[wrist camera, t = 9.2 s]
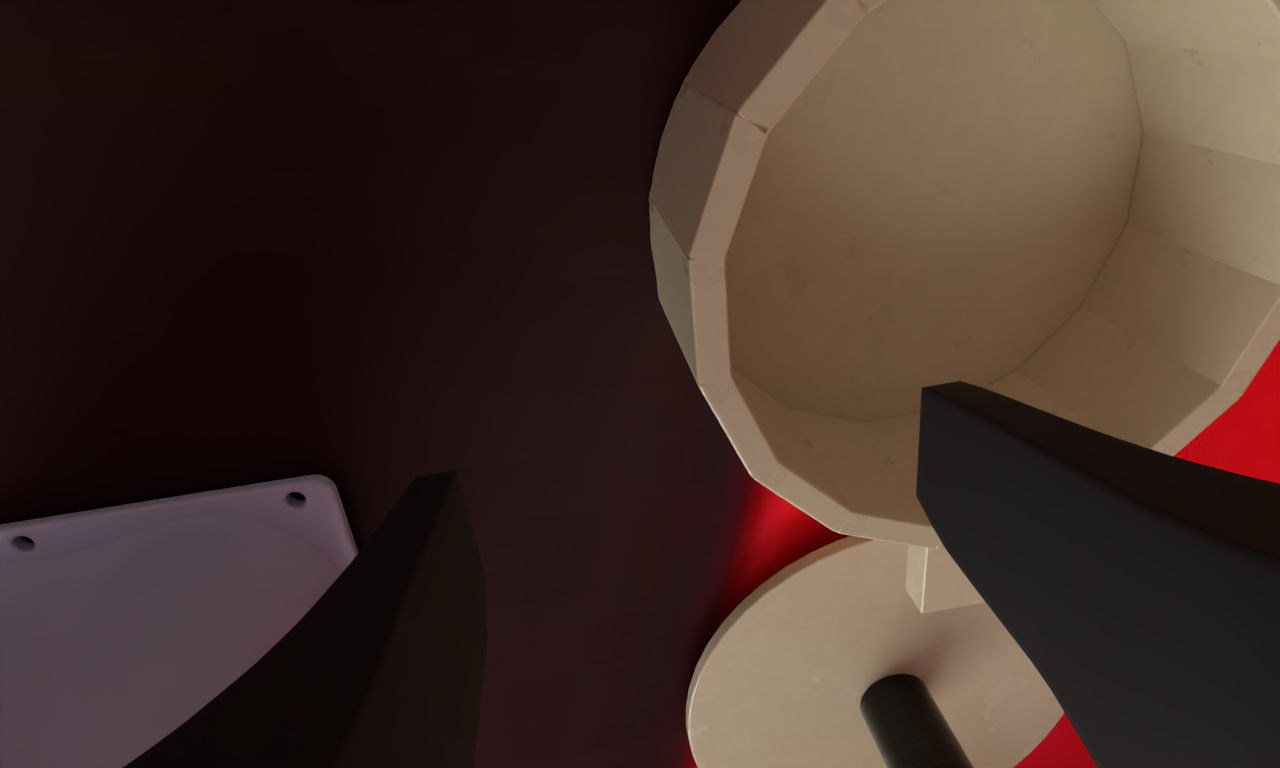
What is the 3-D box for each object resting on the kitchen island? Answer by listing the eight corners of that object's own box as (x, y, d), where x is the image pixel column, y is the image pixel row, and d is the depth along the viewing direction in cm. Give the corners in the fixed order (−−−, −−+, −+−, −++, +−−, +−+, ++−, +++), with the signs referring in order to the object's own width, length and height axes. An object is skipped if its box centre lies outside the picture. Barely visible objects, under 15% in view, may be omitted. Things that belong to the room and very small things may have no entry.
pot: (679, 536, 24) (720, 674, 20) (605, -214, 16) (645, -301, 11) (1089, 466, 25) (1224, 580, 21) (1230, -274, 17) (1521, -379, 12)
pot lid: (696, 837, 31) (730, 998, 26) (664, 549, 25) (702, 692, 20) (1043, 767, 32) (1138, 909, 27) (1102, 474, 26) (1242, 591, 21)
